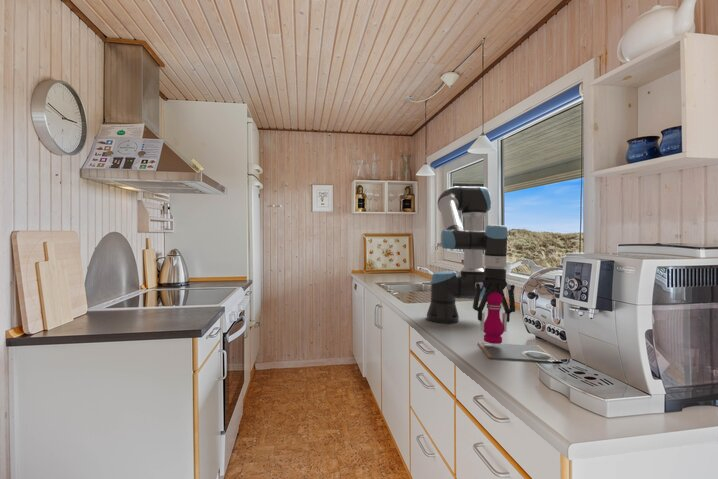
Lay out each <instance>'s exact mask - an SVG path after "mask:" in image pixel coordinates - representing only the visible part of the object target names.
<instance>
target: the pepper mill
mask: <svg viewBox="0 0 718 479" xmlns="http://www.w3.org/2000/svg"><path fill="white" fill-rule="evenodd" d="M502 301H503V296H502V295H501V294H500V293H499V292H491V294H490V295H488V297H487V302H486V308H487V316H486V319H484V331H483V333H485V334H484V335H483V341H484V343H493V344H503V336H502V335H503V334H504V333H505V332H504V327H503V324H502V319H501V316H500V311H501V309H502Z"/></svg>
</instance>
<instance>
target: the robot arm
mask: <svg viewBox="0 0 718 479" xmlns="http://www.w3.org/2000/svg"><path fill="white" fill-rule="evenodd" d="M491 206H492V196H491V194H490V190H489V189H488V188H487V187H485V186H478V185H477V186H455V185H454V186H451V187H449V188H447V189H445V190H444V191H443V192H442V193H441V194H440V195H439V197H438V199H437V209H438V211H439V212H440V214H441V219H442V224H443V230H442V231H441V234H440V245H441V246H440V247H441V248H442V249H446V250H447V249H448V250H464V251H463V255H464V256H463V267H462V268H461V270H460V273H457V271H456V270H442V271H436V272H433V274H432V275H431V282H430V284H431V286H430V287H431V288H430V303H429V306H428V309H427V312H426V319H427V321H430V322H432V323H433V322H434V323H440V324H454V323H458V322H459V321H460V316H459V312H458V309H457V305H456V299H459V300H460V299H461V300H462V299H463V300H473V302H472V309H473V310H474V311H477V320H478V322H479V323H480V324H479V325H480V326H479V330H481V331H483V332H484V322H485V312H484V309H485V306H486V305H487V303H488V302H487V297H488V295H490V294H491V292H499V293H500V294H501V295H502V296H503V301H502V303H501V306H502V308H503V310H504V311H502V314H501V316H502V319H501V322H502V324H503V327H504V333H505V332H507V328H508V327H507V324H508V323H509V322H510V319H511V318H510V316H511V313H515V312H516V304H515V303H516V302H515V292H514V290H515V285H514V284H512V283H508V282H507V269H506V267H507V256H508V254H507V253H508V252H507V251H508V237H509V234H508V227H507V226H506V225H503V224H502V225H501V224H499V225H498V224H491V225H490V224H489V225H486V226H485V230H484V218H485V217H486V216H487V215H488V213H487V212H489V211H490V210H491V208H492V207H491ZM460 211H461V215H462V217H464V225H463V223H462V219H461V218H462V217H461V216H460ZM483 260H484V261H483ZM483 265H484V267H485V268H483ZM505 288H506V289H507V295H508V301H507V299H506V297H505V292H504V290H505ZM480 300H481V301H480ZM508 303H509V304H508Z"/></svg>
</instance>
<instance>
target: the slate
mask: <svg viewBox="0 0 718 479" xmlns="http://www.w3.org/2000/svg"><path fill="white" fill-rule="evenodd" d="M477 345H478V347H479V348H480V349H481V350H482V351H483V353H484V354H485V356H486V357H487V358H488V359H489V360H497V361H498V360H501V361H504V360H505V361H520V362H536V361H548V360H558V359H557V358H556V357H554V356H553V355H552V354H550V353H549V351H547V350H545V349H544V348H542V347H541V346H540V345H537V344H536V345H535V344H533V345H532V344H515V343H514V344H512V343H511V344H510V343H500V344H493V343H488V342H477Z"/></svg>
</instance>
